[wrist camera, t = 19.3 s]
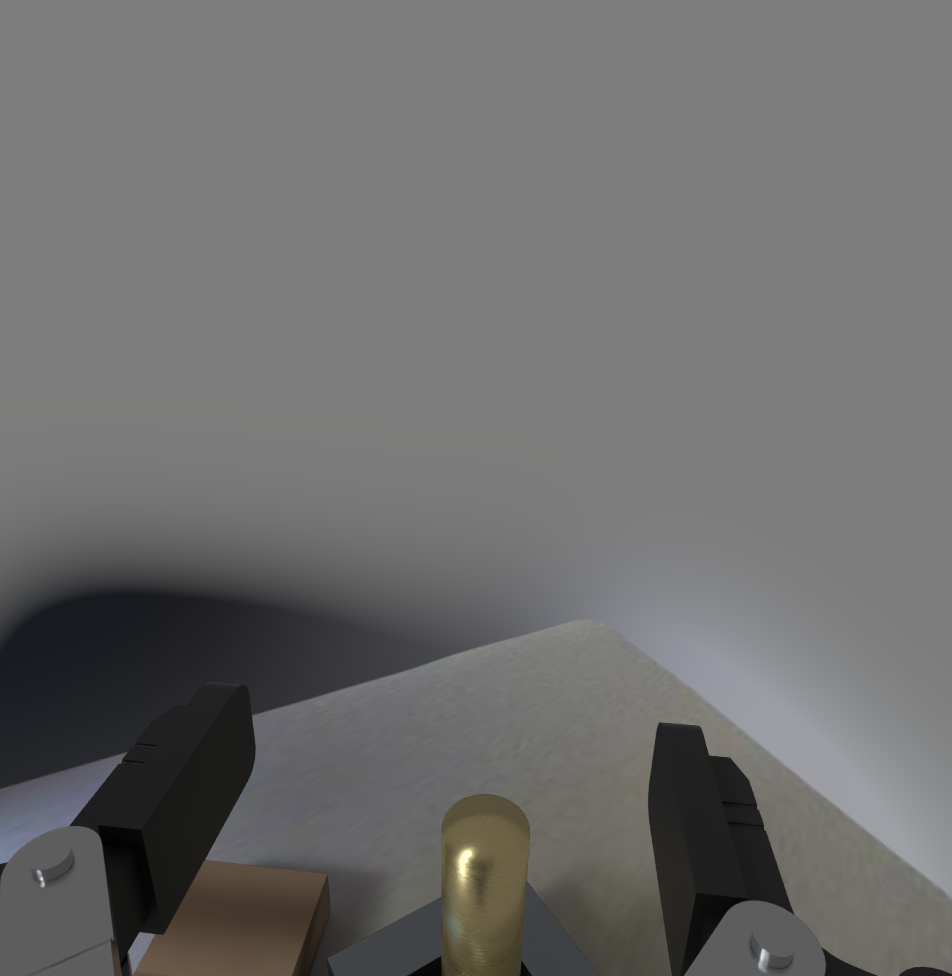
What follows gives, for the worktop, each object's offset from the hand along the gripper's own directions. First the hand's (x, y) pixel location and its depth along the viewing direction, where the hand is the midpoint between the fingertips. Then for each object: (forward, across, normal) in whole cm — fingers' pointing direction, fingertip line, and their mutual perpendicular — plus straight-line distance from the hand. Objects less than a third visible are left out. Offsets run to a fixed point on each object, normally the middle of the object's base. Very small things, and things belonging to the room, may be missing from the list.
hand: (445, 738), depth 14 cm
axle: (+11, 0, +30) cm, 32 cm away
